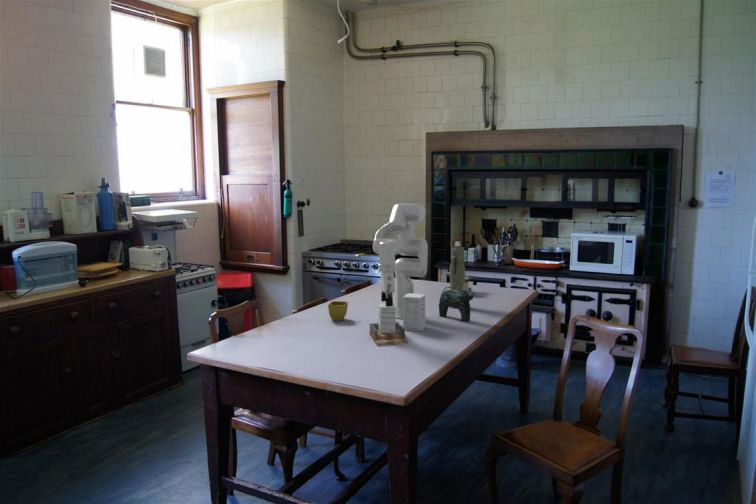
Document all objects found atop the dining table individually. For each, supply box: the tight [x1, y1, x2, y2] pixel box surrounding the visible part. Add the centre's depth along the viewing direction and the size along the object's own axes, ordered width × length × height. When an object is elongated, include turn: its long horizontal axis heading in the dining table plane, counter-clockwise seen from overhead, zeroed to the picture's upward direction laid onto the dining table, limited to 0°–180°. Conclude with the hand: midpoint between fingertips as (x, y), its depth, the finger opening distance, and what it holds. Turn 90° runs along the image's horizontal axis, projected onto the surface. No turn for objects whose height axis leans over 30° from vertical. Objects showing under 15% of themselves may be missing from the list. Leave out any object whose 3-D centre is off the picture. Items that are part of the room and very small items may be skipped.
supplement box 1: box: [377, 303, 397, 333], centre depth 275 cm, size 7×7×13 cm
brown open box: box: [369, 321, 408, 347], centre depth 273 cm, size 14×18×6 cm
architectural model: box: [464, 275, 474, 289], centre depth 374 cm, size 35×28×14 cm
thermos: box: [449, 245, 466, 309], centre depth 336 cm, size 9×12×35 cm
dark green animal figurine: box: [438, 282, 475, 322], centre depth 310 cm, size 20×6×20 cm, turn 47°
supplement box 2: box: [402, 293, 426, 332], centre depth 291 cm, size 10×9×17 cm
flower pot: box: [327, 300, 349, 322], centre depth 308 cm, size 9×9×9 cm
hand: (387, 303), depth 274 cm, fingers open, 9 cm apart
